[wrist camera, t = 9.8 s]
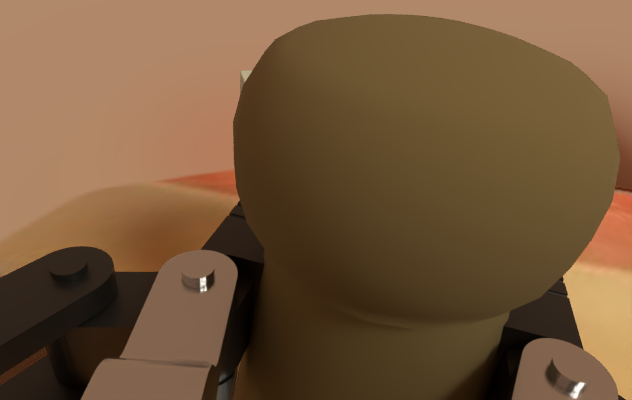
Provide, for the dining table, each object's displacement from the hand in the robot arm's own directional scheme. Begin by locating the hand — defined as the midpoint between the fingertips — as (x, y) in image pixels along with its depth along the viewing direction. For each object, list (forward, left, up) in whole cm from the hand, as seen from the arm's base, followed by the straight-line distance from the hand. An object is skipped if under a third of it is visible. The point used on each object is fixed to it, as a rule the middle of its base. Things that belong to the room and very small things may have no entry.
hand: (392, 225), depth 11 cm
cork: (+1, +3, -6) cm, 7 cm away
